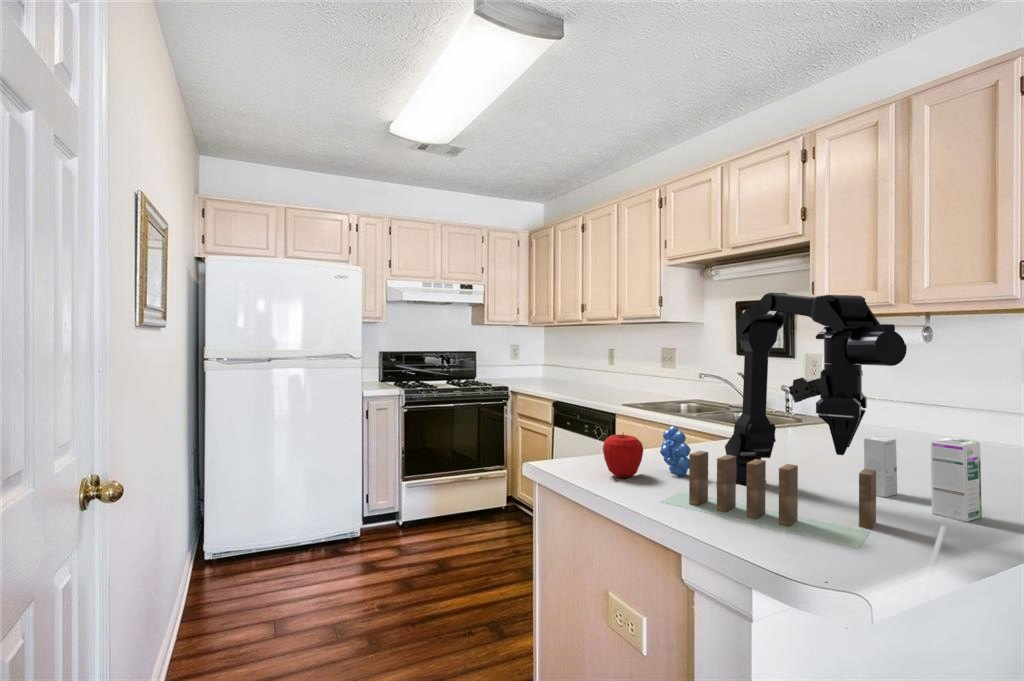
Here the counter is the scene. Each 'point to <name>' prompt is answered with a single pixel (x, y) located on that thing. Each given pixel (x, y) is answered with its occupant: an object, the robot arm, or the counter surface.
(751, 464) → the domino
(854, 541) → the board
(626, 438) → the apple
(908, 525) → the counter surface
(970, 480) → the syrup box
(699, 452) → the domino
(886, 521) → the counter surface
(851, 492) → the counter surface
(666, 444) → the grapes
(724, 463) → the domino
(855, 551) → the counter surface
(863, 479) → the domino
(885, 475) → the skincare box
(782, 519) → the domino
